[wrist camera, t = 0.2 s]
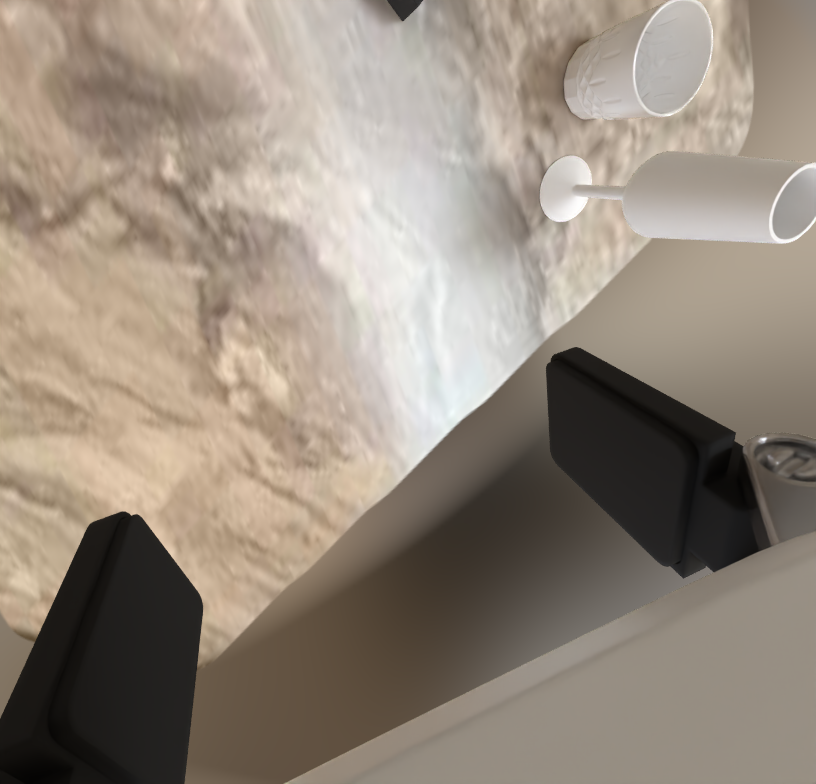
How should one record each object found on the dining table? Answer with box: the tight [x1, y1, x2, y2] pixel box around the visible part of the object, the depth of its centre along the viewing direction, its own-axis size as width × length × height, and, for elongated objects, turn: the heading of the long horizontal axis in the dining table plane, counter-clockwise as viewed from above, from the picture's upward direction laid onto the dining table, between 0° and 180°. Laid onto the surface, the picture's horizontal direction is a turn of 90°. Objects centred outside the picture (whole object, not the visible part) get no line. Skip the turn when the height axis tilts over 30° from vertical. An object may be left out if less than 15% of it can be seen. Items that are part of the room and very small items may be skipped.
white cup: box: [564, 0, 713, 120], centre depth 39 cm, size 8×8×10 cm
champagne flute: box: [540, 151, 816, 243], centre depth 38 cm, size 7×7×24 cm
